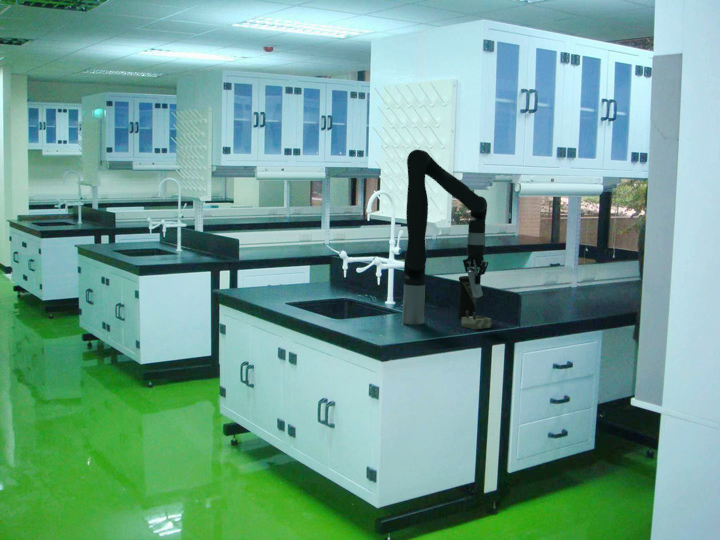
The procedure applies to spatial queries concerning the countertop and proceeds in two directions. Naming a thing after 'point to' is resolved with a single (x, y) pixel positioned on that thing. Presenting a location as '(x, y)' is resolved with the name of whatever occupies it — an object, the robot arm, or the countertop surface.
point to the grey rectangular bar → (475, 288)
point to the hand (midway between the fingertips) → (474, 283)
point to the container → (466, 298)
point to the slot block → (475, 321)
